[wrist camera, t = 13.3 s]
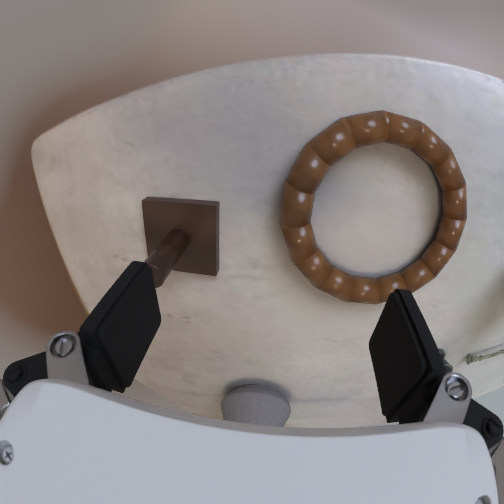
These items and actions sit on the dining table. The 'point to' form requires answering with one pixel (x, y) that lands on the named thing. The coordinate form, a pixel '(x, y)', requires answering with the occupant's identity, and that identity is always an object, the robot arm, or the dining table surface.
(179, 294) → the dining table surface
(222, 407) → the coffee pot
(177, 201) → the peg stand
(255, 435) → the robot arm
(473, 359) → the soupspoon
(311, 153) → the beaded brown ring
